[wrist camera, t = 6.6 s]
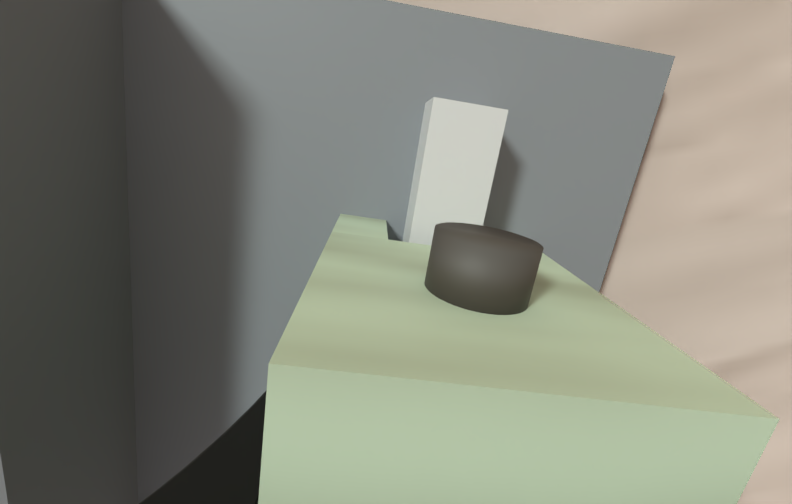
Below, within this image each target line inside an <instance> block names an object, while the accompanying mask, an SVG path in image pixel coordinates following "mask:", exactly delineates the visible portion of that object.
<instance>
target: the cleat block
mask: <svg viewBox="0 0 792 504" xmlns="http://www.w3.org/2000/svg"><path fill="white" fill-rule="evenodd" d="M543 249H544V248H543V246H542V245H541V244H539V243H538V242H536V241H534V240H532V239H530V238H527V237H525V236H522V235H519V234H516V233H512V232H509V231H505V230H501V229H497V228H492V227H487V226H482V225H476V224H468V223H456V222H446V223H439V224H436V225H435V229H434V234H433V239H432V245H424V244H417V243H410V242H402V241H395V240H388V233H387V223H386V220H380V219H373V218H367V217H360V216H353V215H346V214H340V216H339V218H338V220H337V222H336V224H335V226H334V228H333V230H332V233H331V235H330V237H329V239H328V241H327V243H326V245H325V247H324V249H323V251H322V253H321V255H320V258H319V260H318V262H317V264H316V266H315V268H314V270H313V272H312V274H311V276H310V278H309V280H308V283H307V285H306V287H305V289H304V291H303V293H302V295H301V297H300V299H299V301H298V303H297V305H296V307H295V310H294V312H293V314H292V316H291V318H290V320H289V322H288V324H287V326H286V328H285V330H284V332H283V335H282V337H281V339H280V341H279V343H278V345H277V347H276V349H275V351H274V353H273V355H272V357H271V360H270V362H269V365H268V378H267V391H266V405H265V418H264V431H263V445H262V458H261V471H260V485H259V498H258V504H737V502H738V500H739V498H740V496H741V494H742V492H743V490H744V488H745V486H746V484H747V482H748V481H749V479H750V477H751V475H752V473H753V471H754V469H755V467H756V465H757V463H758V461H759V459H760V457H761V455H762V453H763V451H764V449H765V447H766V445H767V443H768V441H769V439H770V437H771V435H772V433H773V431H774V429H775V427H776V425H777V423H778V421H779V419H778V418H777V417H776V416H774V415H773V414H771V413H770V412H769V411H767V410H766V409H764V408H763V407H761V406H760V405H759V404H757V403H756V402H754V401H753V400H751V399H750V398H749V397H747V396H746V395H744V394H743V393H741V392H740V391H739V390H737V389H736V388H734V387H733V386H731V385H730V384H729V383H727V382H726V381H724V380H723V379H722V378H720V377H719V376H717V375H716V374H714V373H713V372H712V371H710V370H709V369H707V368H706V367H704V366H703V365H702V364H700V363H699V362H697V361H696V360H694V359H693V358H692V357H690V356H689V355H687V354H686V353H685V352H683V351H682V350H680V349H679V348H677V347H676V346H675V345H673V344H672V343H670V342H669V341H667V340H666V339H665V338H663V337H662V336H660V335H659V334H657V333H656V332H655V331H653V330H652V329H650V328H649V327H647V326H646V325H645V324H643V323H642V322H640V321H639V320H638V319H636V318H635V317H633V316H632V315H630V314H629V313H628V312H626V311H625V310H623V309H622V308H620V307H619V306H618V305H616V304H615V303H613V302H612V301H610V300H609V299H608V298H606V297H605V296H603V295H602V294H600V293H599V292H598V291H596V290H595V289H593V288H592V287H591V286H589V285H588V284H586V283H585V282H583V281H582V280H581V279H579V278H578V277H576V276H575V275H573V274H572V273H571V272H569V271H568V270H566V269H565V268H563V267H562V266H561V265H559V264H558V263H556V262H555V261H554V260H552V259H551V258H549V257H548V256H546V255H545V254H544V253H543Z"/></svg>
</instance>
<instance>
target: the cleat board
mask: <svg viewBox="0 0 792 504" xmlns="http://www.w3.org/2000/svg"><path fill="white" fill-rule="evenodd" d="M674 58H675V56H671V55H666V54H661V53H655V52H650V51H645V50H640V49H635V48H630V47H625V46H619V45H614V44H609V43H604V42H599V41H594V40H588V39H583V38H578V37H573V36H568V35H563V34H557V33H552V32H547V31H542V30H537V29H532V28H526V27H521V26H516V25H511V24H506V23H501V22H496V21H490V20H485V19H480V18H475V17H470V16H465V15H459V14H454V13H449V12H444V11H439V10H434V9H428V8H423V7H418V6H413V5H408V4H403V3H398V2H392V1H387V0H0V504H139V503H140V502H141V501H143V500H144V499H145V498H147V497H148V496H149V495H151V494H152V493H153V492H155V491H156V490H157V489H158V488H160V487H161V486H162V485H164V484H165V483H166V482H167V481H169V480H170V479H171V478H172V477H174V476H175V475H176V474H177V473H178V472H180V471H181V470H182V469H183V468H185V467H186V466H187V465H188V464H189V463H190V462H192V461H193V460H194V459H195V458H196V457H197V456H198V455H200V454H201V453H202V452H203V451H204V450H205V449H206V448H207V447H209V446H210V445H211V444H212V443H213V442H214V441H215V440H217V439H218V438H219V437H220V436H221V435H222V434H223V433H224V432H225V431H226V430H228V429H229V428H230V427H231V426H232V425H233V424H234V423H235V422H236V421H237V420H238V419H239V418H240V417H241V416H242V415H243V414H244V413H245V412H246V411H247V410H248V409H249V408H250V407H251V406H252V405H253V404H254V403H255V402H256V401H257V400H258V399H259V398H260V397H261V396H262V395H263V393H264V392H265V391H266V390H267V378H268V365H269V362H270V360H271V357H272V355H273V353H274V351H275V349H276V347H277V345H278V343H279V341H280V339H281V337H282V335H283V332H284V330H285V328H286V326H287V324H288V322H289V320H290V318H291V316H292V314H293V312H294V310H295V307H296V305H297V303H298V301H299V299H300V297H301V295H302V293H303V291H304V289H305V287H306V285H307V283H308V280H309V278H310V276H311V274H312V272H313V270H314V268H315V266H316V264H317V262H318V260H319V258H320V255H321V253H322V251H323V249H324V247H325V245H326V243H327V241H328V239H329V237H330V235H331V233H332V230H333V228H334V226H335V224H336V222H337V220H338V218H339V216H340V214H346V215H353V216H360V217H367V218H373V219H380V220H386V223H387V233H388V240H395V241H402V242H410V243H417V244H424V245H432V239H433V234H434V229H435V225H436V224H439V223H446V222H456V223H468V224H476V225H482V226H487V227H492V228H497V229H501V230H505V231H509V232H512V233H516V234H519V235H522V236H525V237H527V238H530V239H532V240H534V241H536V242H538V243H539V244H541V245H542V246H543V248H544V249H543V253H544V254H545V255H546V256H548V257H549V258H551V259H552V260H554V261H555V262H556V263H558V264H559V265H561V266H562V267H563V268H565V269H566V270H568V271H569V272H571V273H572V274H573V275H575V276H576V277H578V278H579V279H581V280H582V281H583V282H585V283H586V284H588V285H589V286H591V287H592V288H593V289H595V290H596V291H598V292H599V291H600V288H601V285H602V282H603V279H604V276H605V272H606V269H607V266H608V263H609V260H610V257H611V254H612V251H613V248H614V244H615V241H616V238H617V235H618V232H619V229H620V226H621V223H622V220H623V216H624V213H625V210H626V207H627V204H628V201H629V198H630V195H631V192H632V188H633V185H634V182H635V179H636V176H637V173H638V170H639V167H640V164H641V161H642V157H643V154H644V151H645V148H646V145H647V142H648V139H649V136H650V133H651V129H652V126H653V123H654V120H655V117H656V114H657V111H658V108H659V105H660V101H661V98H662V95H663V92H664V89H665V86H666V83H667V80H668V77H669V73H670V70H671V67H672V64H673V61H674Z"/></svg>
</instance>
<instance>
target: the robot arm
mask: <svg viewBox="0 0 792 504" xmlns="http://www.w3.org/2000/svg"><path fill="white" fill-rule="evenodd" d="M266 391H267V390H266ZM266 391H265V392H264V393H263V395H262V396H261V397H260V398H259V399H258V400H257V401H256V402H255V403H254V404H253V405H252V406H251V407H250V408H249V409H248V410H247V411H246V412H245V413H244V414H243V415H242V416H241V417H240V418H239V419H238V420H237V421H236V422H235V423H234V424H233V425H232V426H231V427H230V428H229V429H228V430H226V431H225V432H224V433H223V434H222V435H221V436H220V437H219V438H218V439H217V440H215V441H214V442H213V443H212V444H211V445H210V446H209V447H207V448H206V449H205V450H204V451H203V452H202V453H201V454H200V455H198V456H197V457H196V458H195V459H194V460H193V461H192V462H190V463H189V464H188V465H187V466H186V467H185V468H183V469H182V470H181V471H180V472H178V473H177V474H176V475H175V476H174V477H172V478H171V479H170V480H169V481H167V482H166V483H165V484H164V485H162V486H161V487H160V488H158V489H157V490H156V491H155V492H153V493H152V494H151V495H149V496H148V497H147V498H145V499H144V500H143V501H141V502H140V503H139V504H258V498H259V485H260V471H261V458H262V445H263V431H264V418H265V405H266Z"/></svg>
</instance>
